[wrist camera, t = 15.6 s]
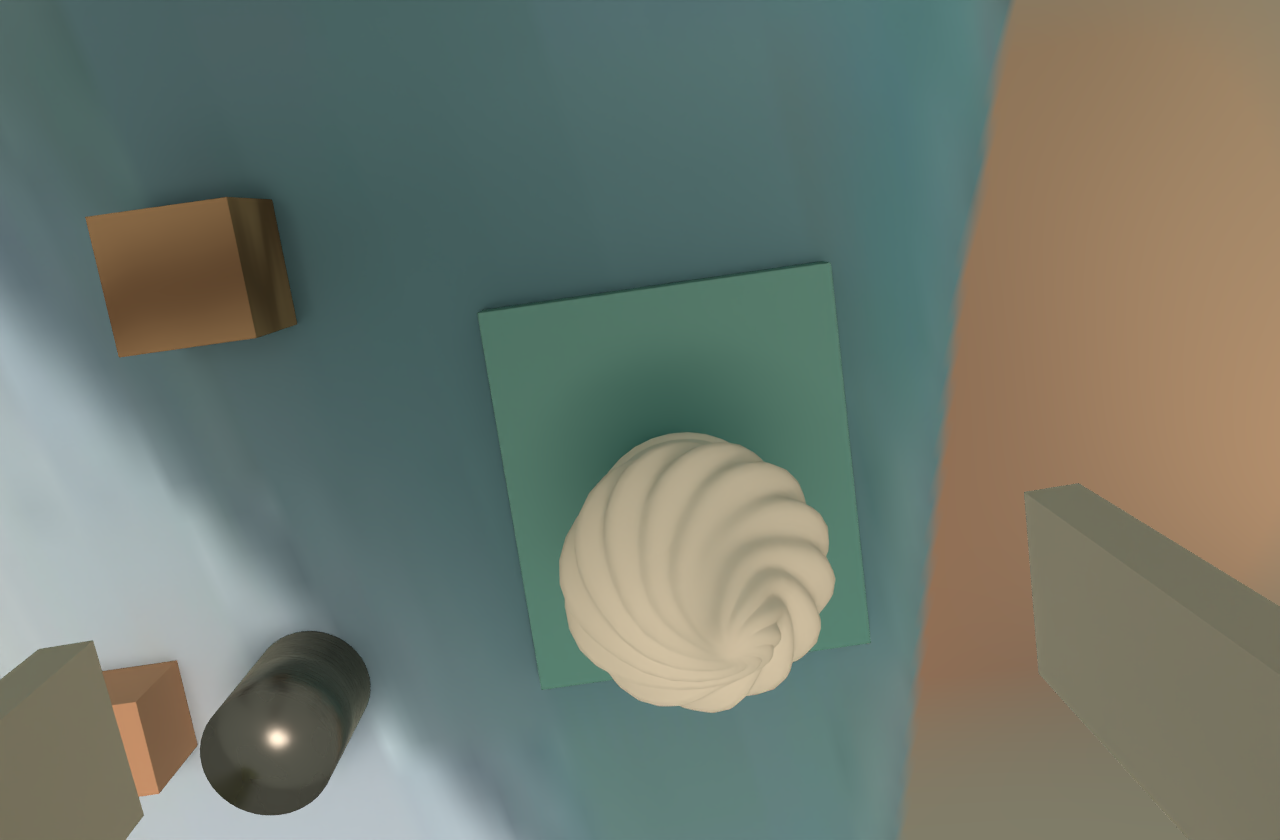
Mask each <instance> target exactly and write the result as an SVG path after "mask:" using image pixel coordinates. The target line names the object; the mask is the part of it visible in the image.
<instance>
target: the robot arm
mask: <svg viewBox="0 0 1280 840" xmlns="http://www.w3.org/2000/svg"><path fill="white" fill-rule="evenodd" d="M1024 497H1025V509H1026V522H1027V534H1028V546H1029V559H1030V571H1031V583H1032V596H1033V608H1034V621H1035V632H1036V646H1037V658H1038V670H1039V674H1040V675H1041V676H1042V677H1043V678H1044V680H1045V681H1046V682H1047V683H1048V684H1049V685H1050V686H1051V688H1052V689H1053V690H1054V691H1055V692H1056V693H1057V694H1058V695H1059V696H1060V698H1061V699H1062V700H1063V701H1064V702H1065V703H1066V704H1067V705H1068V706H1069V708H1070V709H1071V710H1072V711H1073V712H1074V713H1075V714H1076V715H1077V716H1078V718H1079V719H1080V720H1081V721H1082V722H1083V723H1084V724H1085V725H1086V726H1087V728H1088V729H1089V730H1090V731H1091V732H1092V733H1093V734H1094V735H1095V736H1096V738H1097V739H1098V740H1099V741H1100V742H1101V743H1102V744H1103V745H1104V746H1105V748H1106V749H1107V750H1108V751H1109V752H1110V753H1111V754H1112V755H1113V757H1114V758H1115V759H1116V760H1117V761H1118V762H1119V763H1120V764H1121V765H1122V767H1123V768H1124V769H1125V770H1126V771H1127V772H1128V773H1129V774H1130V775H1131V777H1132V778H1133V779H1134V780H1135V781H1136V782H1137V783H1138V784H1139V785H1140V786H1141V788H1142V789H1143V790H1144V791H1145V792H1146V793H1147V794H1148V795H1149V797H1150V798H1151V799H1152V800H1153V801H1154V802H1155V803H1156V804H1157V805H1158V806H1159V808H1160V809H1161V810H1162V811H1163V812H1164V813H1165V814H1166V816H1167V817H1168V818H1169V819H1170V820H1171V821H1172V822H1173V823H1174V824H1175V825H1176V827H1177V828H1178V829H1179V830H1180V831H1181V832H1182V833H1183V834H1184V835H1185V837H1186V838H1187V839H1188V840H1280V606H1278V605H1276V604H1275V603H1273V602H1271V601H1270V600H1268V599H1267V598H1265V597H1263V596H1262V595H1260V594H1258V593H1257V592H1255V591H1253V590H1252V589H1250V588H1249V587H1247V586H1245V585H1244V584H1242V583H1240V582H1239V581H1237V580H1236V579H1234V578H1232V577H1231V576H1229V575H1227V574H1226V573H1224V572H1223V571H1221V570H1219V569H1218V568H1216V567H1214V566H1213V565H1211V564H1209V563H1208V562H1206V561H1205V560H1203V559H1201V558H1200V557H1198V556H1196V555H1195V554H1193V553H1192V552H1190V551H1188V550H1187V549H1185V548H1183V547H1182V546H1180V545H1178V544H1177V543H1175V542H1173V541H1172V540H1170V539H1169V538H1167V537H1165V536H1164V535H1162V534H1160V533H1159V532H1157V531H1155V530H1154V529H1152V528H1151V527H1149V526H1147V525H1146V524H1144V523H1142V522H1141V521H1139V520H1138V519H1136V518H1134V517H1133V516H1131V515H1129V514H1128V513H1126V512H1125V511H1123V510H1121V509H1120V508H1118V507H1116V506H1115V505H1113V504H1112V503H1110V502H1108V501H1107V500H1105V499H1103V498H1102V497H1100V496H1099V495H1097V494H1095V493H1094V492H1092V491H1090V490H1089V489H1087V488H1085V487H1084V486H1082V485H1081V484H1079V483H1078V484H1072V485H1066V486H1059V487H1053V488H1046V489H1040V490H1034V491H1028V492H1024ZM143 816H144V814H143V810H142V807H141V803H140V800H139V797H138V793H137V790H136V786H135V783H134V779H133V776H132V773H131V769H130V766H129V762H128V759H127V755H126V752H125V749H124V745H123V742H122V738H121V735H120V731H119V728H118V725H117V721H116V718H115V714H114V711H113V707H112V704H111V701H110V697H109V694H108V690H107V687H106V683H105V680H104V677H103V673H102V670H101V666H100V663H99V659H98V656H97V653H96V649H95V646H94V642H93V641H87V642H80V643H74V644H68V645H61V646H55V647H49V648H43V649H38V650H37V651H36V652H35V653H33V654H32V655H31V656H30V657H28V658H27V659H26V660H25V661H23V662H22V663H21V664H20V665H18V666H17V667H16V668H14V669H13V670H12V671H11V672H9V673H8V674H7V675H6V676H4V677H3V678H2V679H1V680H0V840H126V838H127V837H128V836H129V834H130V833H131V832H132V830H133V829H134V828H135V826H136V825H137V824H138V822H139V821H140V820H141V818H142V817H143Z"/></svg>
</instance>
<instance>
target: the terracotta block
mask: <svg viewBox="0 0 1280 840" xmlns="http://www.w3.org/2000/svg"><path fill="white" fill-rule="evenodd" d="M102 673H103V677H104V680H105V683H106V687H107V690H108V694H109V697H110V701H111V704H112V707H113V711H114V714H115V718H116V721H117V725H118V728H119V731H120V735H121V738H122V742H123V745H124V749H125V752H126V755H127V759H128V762H129V766H130V769H131V773H132V776H133V779H134V783H135V786H136V790H137V793H138V797H139V796H146V795H153V794H159V793H160V792H161V791H162V789H163V788H164V787H165V786H166V784H167V783H168V782H169V781H170V779H171V778H172V777H173V776H174V774H175V773H176V772H177V771H178V769H179V768H180V767H181V765H182V764H183V763H184V762H185V760H186V759H187V758H188V757H189V755H190V754H191V753H192V752H193V750H194V749H195V748H196V747H197V741H196V737H195V732H194V728H193V724H192V720H191V716H190V712H189V708H188V704H187V700H186V696H185V692H184V687H183V683H182V679H181V675H180V671H179V667H178V663H177V660H176V661H170V662H163V663H156V664H149V665H142V666H135V667H128V668H121V669H114V670H108V671H102Z"/></svg>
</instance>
